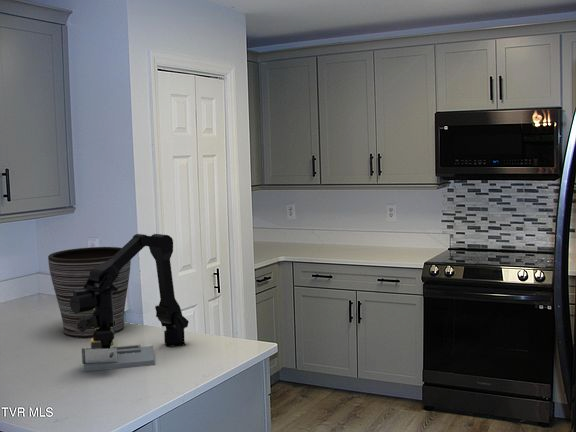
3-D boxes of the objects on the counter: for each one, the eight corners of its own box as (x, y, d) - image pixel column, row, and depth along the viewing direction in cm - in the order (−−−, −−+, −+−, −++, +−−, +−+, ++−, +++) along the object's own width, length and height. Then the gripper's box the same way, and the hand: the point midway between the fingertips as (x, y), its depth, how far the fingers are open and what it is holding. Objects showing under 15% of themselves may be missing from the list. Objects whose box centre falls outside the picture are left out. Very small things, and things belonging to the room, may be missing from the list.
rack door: (117, 361, 214) (116, 347, 213) (116, 363, 212) (115, 349, 211) (86, 362, 213) (85, 348, 213) (84, 364, 211) (84, 350, 211)
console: (153, 350, 230) (152, 332, 229) (154, 364, 215) (154, 345, 214) (84, 356, 225) (83, 338, 224) (81, 371, 209) (80, 352, 209)
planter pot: (91, 345, 237) (86, 262, 233) (35, 334, 252) (30, 256, 249) (150, 325, 262) (147, 249, 259) (96, 316, 278) (92, 245, 275)
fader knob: (103, 350, 225) (102, 337, 224) (102, 353, 222) (102, 340, 221) (92, 351, 224) (91, 338, 223) (91, 354, 221) (91, 341, 220)
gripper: (79, 301, 220) (82, 347, 222) (74, 316, 202) (77, 366, 204) (114, 299, 223) (116, 344, 225) (112, 313, 205) (115, 362, 207)
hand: (106, 354), depth 215 cm, fingers closed
